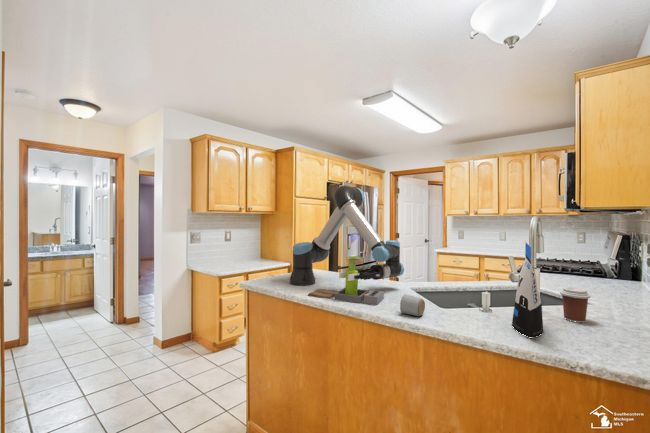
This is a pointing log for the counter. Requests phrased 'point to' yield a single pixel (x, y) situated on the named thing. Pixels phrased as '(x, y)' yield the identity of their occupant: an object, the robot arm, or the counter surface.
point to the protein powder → (527, 301)
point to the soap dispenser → (352, 285)
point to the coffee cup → (575, 303)
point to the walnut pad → (323, 293)
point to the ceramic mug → (412, 305)
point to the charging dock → (361, 296)
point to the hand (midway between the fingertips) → (343, 276)
